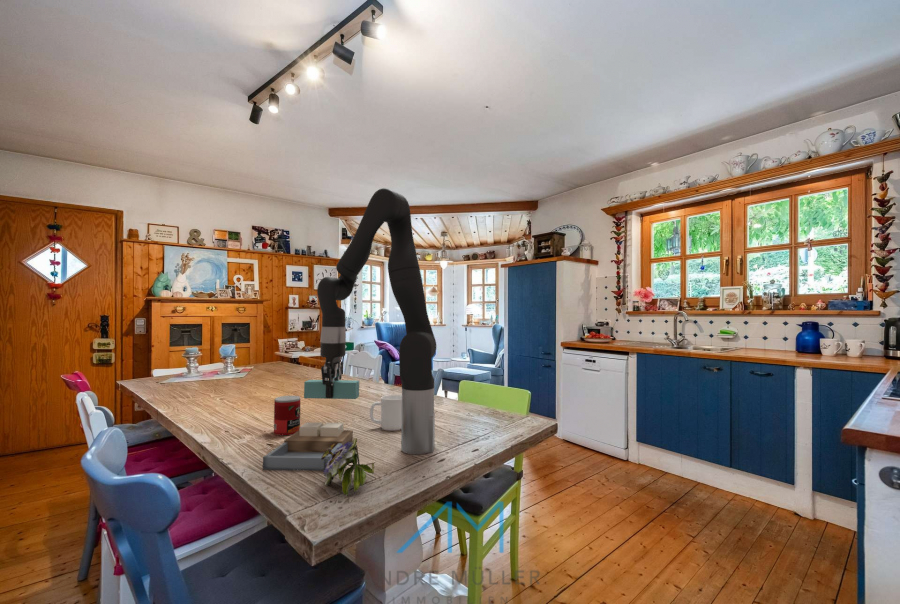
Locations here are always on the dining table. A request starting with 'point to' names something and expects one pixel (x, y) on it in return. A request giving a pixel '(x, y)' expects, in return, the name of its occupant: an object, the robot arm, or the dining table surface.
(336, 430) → the tile
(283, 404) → the canned food
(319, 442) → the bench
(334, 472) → the passion flower
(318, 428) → the tile
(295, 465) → the tray
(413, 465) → the dining table surface
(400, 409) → the cup
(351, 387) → the teal rectangular block
